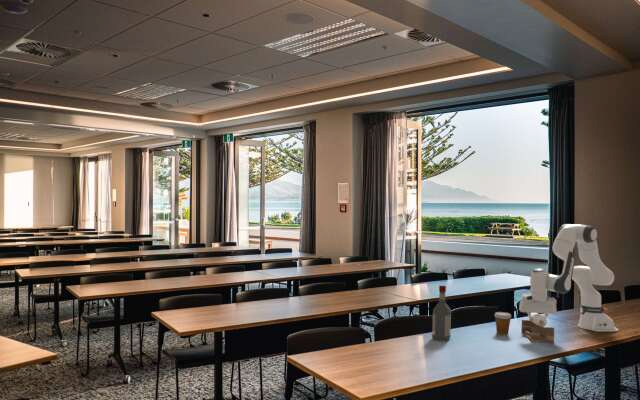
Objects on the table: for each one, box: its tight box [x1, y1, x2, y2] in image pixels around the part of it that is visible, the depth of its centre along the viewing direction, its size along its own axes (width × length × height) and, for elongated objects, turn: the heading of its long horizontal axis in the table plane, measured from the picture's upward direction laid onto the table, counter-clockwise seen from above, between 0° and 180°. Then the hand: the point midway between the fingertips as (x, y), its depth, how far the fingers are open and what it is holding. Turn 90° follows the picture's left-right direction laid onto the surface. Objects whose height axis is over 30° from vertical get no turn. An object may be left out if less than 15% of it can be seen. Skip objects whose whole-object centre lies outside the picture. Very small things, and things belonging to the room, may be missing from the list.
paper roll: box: [530, 313, 548, 327], centre depth 286 cm, size 13×6×6 cm, turn 176°
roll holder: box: [521, 319, 555, 344], centre depth 286 cm, size 20×12×8 cm, turn 176°
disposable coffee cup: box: [494, 311, 512, 336], centre depth 294 cm, size 10×10×12 cm
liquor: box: [431, 285, 452, 342], centre depth 279 cm, size 9×9×30 cm
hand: (537, 320), depth 286 cm, fingers closed on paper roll, 6 cm apart
